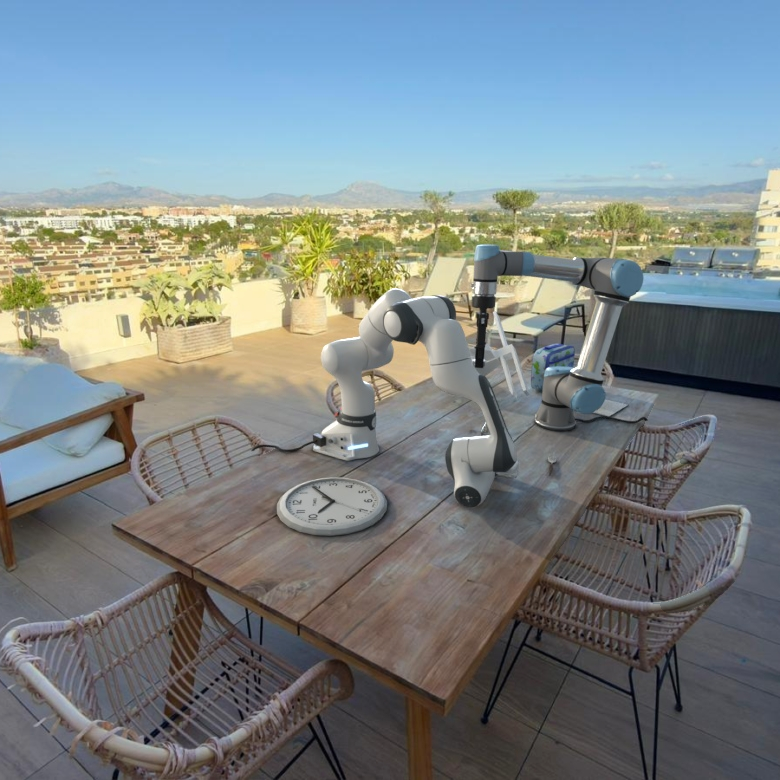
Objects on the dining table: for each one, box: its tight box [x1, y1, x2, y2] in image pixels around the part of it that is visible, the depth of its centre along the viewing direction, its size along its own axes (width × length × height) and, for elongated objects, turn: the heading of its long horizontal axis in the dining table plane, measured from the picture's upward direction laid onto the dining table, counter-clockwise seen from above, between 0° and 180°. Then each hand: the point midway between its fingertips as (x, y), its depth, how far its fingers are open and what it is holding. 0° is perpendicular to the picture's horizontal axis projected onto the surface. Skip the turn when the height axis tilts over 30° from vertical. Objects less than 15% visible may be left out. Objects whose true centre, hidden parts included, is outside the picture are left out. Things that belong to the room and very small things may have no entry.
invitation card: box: [592, 398, 629, 417], centre depth 226 cm, size 21×1×15 cm
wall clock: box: [276, 476, 388, 537], centre depth 142 cm, size 30×2×30 cm
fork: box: [547, 451, 558, 477], centre depth 168 cm, size 3×16×2 cm, turn 160°
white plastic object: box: [468, 310, 531, 400], centre depth 245 cm, size 37×45×31 cm
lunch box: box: [530, 343, 576, 391], centre depth 249 cm, size 26×11×21 cm, turn 134°
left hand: (488, 453), depth 163 cm, fingers closed on bottle, 5 cm apart
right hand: (478, 365), depth 174 cm, fingers closed on cap, 4 cm apart
